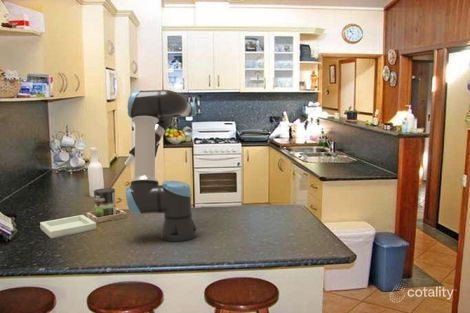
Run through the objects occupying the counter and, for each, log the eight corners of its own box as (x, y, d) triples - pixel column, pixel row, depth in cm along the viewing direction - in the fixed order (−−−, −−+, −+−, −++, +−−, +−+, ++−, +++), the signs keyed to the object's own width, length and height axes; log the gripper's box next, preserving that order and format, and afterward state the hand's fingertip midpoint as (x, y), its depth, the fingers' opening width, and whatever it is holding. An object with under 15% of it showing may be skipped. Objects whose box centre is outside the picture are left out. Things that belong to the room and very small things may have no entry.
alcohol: (86, 197, 281) (82, 148, 277) (95, 193, 290) (91, 146, 286) (99, 197, 279) (95, 148, 275) (107, 194, 287) (103, 146, 283)
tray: (96, 229, 210) (96, 223, 209) (51, 238, 198) (50, 231, 198) (83, 220, 226) (82, 214, 226) (40, 228, 215) (39, 222, 214)
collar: (126, 217, 229) (126, 212, 228) (96, 223, 220) (95, 218, 220) (115, 211, 241) (115, 207, 241) (86, 217, 233) (86, 212, 232)
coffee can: (106, 221, 224) (104, 192, 222) (91, 219, 229) (89, 191, 227) (121, 215, 233) (119, 188, 231) (106, 214, 238) (103, 187, 236)
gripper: (174, 140, 240) (153, 172, 231) (145, 138, 257) (124, 168, 248) (165, 130, 236) (144, 164, 227) (136, 129, 252) (115, 160, 243)
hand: (134, 166), depth 237 cm, fingers open, 13 cm apart
